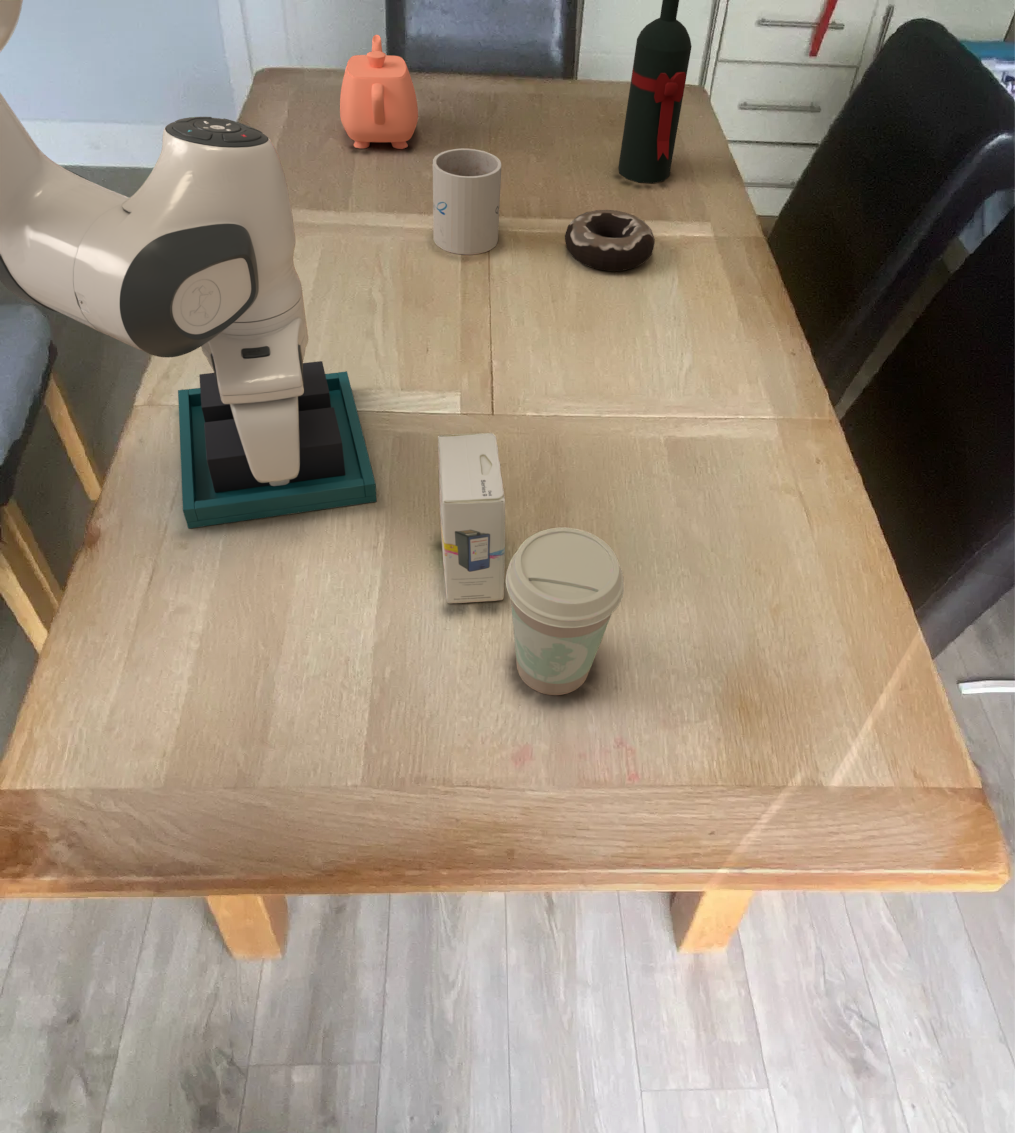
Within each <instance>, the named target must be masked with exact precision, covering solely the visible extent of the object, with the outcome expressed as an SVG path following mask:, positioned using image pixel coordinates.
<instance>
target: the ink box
mask: <svg viewBox="0 0 1015 1133" xmlns="http://www.w3.org/2000/svg"><path fill="white" fill-rule="evenodd" d="M497 441H498V439H497V436H496V435H495V434H494V433H493V432H483V433H482V432H477V433H476V432H475V433H453V434H439V435H437V445H438V448H437V451H438V452H437V453H438V454H437V455H438V457H437V459H438V462H437V463H438V495H439V496H438V497H439V499H438V500H439V519H440V520H439V522H440V534H441V550H442V551H441V552H442V564H443V574H444V589H445V598H446V600H445V602H446V603H447V604H462V603H463V604H464V603H479V602H481V603H482V602H496V601H503V600H504V597H505V596H504V595H505V561H506V560H505V559H506V558H505V557H506V554H505V553H506V499H505V490H504V484H503V483H504V482H503V477H502V471H501V461H500V457H499V446H498V442H497Z"/></svg>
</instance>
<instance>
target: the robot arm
mask: <svg viewBox="0 0 1015 1133" xmlns="http://www.w3.org/2000/svg"><path fill="white" fill-rule="evenodd" d="M23 2H24V0H0V53H2V51H3V50H4V49H5V47H6V46H7V45H8V43H10V40H11V38H12V36H13V35H14V33H15V30H16V29H17V25H18V23H19V21H20V20H19V19H20V16H21V13H22V8H23ZM161 141H162V142H161V150H160V153H159V156H158V158H157V160H156V162H155V164H154V166H153V169H152V171H151V172H150V173H149V175H148V177H147V178H146V179H145V181H144V182H143V183H142V185H141V186H139V188H138V189H137V191H136V192H135V193H134V194H132V195H131V196H130V197H129V196H126V195H124V194H122V193H119V192H117V191H114V190H112V189H109V188H106V187H104V186H102V185H100V184H98V183H95V182H93V181H91V180H89V179H87V178H86V177H84V176H82V175H79V174H77V173H76V172H74V171H71V170H70V169H67V168H65V167H64V166H61V165H60V164H58V163H57V162H55V161H54V160H52V159H51V158H50V157H48V156H47V155H46V154H45V153H44V152H43V151H42V150H41V149H40V148H39V147H38V145H37V144H36V142H35V141H34V139H33V138H32V136H31V135H30V134H29V132H28V130H27V129H26V128H25V126H24V125H23V123H22V122H21V120H20V119H19V117H18V116H17V115H16V113H15V111H14V110H13V108H12V107H11V106H10V104H9V103H8V101H7V100H6V98H5V97H4V96H3V94H2V92H0V283H1V284H2V285H3V286H4V287H5V288H7V290H8V291H10V293H12V294H13V295H14V296H15V297H18V298H20V299H22V300H23V301H25V302H28V303H30V304H33V305H36V306H38V307H40V308H44V309H47V310H48V311H51V312H55V313H59V314H62V315H64V316H65V317H67V318H70V319H72V320H73V321H76V322H78V323H80V324H83V325H85V327H88V328H91V329H93V330H95V331H97V332H99V333H100V334H103V335H106V336H108V337H111V338H112V339H115V340H117V341H119V342H121V343H123V344H126V345H128V346H129V347H132V348H134V349H136V350H139V351H141V352H144V353H147V354H149V355H151V356H153V357H157V358H176V357H181V356H185V355H187V354H189V353H191V352H193V351H196V350H197V349H199V348H200V349H201V352H202V354H203V355H204V357H205V358H206V359H207V361H208V364H209V365H210V367H211V369H212V371H213V373H214V374H215V377H216V382H217V386H218V391H219V394H220V397H221V401H222V402H223V403H224V404H230V407H231V410H232V414H233V417H234V421H235V424H236V427H237V430H238V434H239V437H240V440H241V443H242V446H243V449H244V452H245V455H246V458H247V461H248V464H249V467H250V469H251V472H252V474H253V476H254V478H255V479H256V480H257V481H258V482H260V483H268V482H269V484H270V485H271V486H280V485H286V484H288V483H289V480H290V479H294V478H296V477H297V476H298V473H299V468H300V441H299V411H298V396H301V395H303V393H304V388H303V384H304V381H303V363H304V360H305V355H306V348H307V347H308V343H309V332H308V331H309V330H308V324H307V316H306V309H305V300H304V293H303V285H302V282H301V278H300V276H299V274H298V272H297V270H296V267H295V262H294V256H295V255H294V254H295V249H296V232H295V230H296V229H295V222H294V215H293V209H292V202H291V196H290V191H289V186H288V183H287V178H286V174H285V171H284V166H283V164H282V161H281V158H280V155H279V153H278V151H277V149H276V147H275V145H274V143H273V141H272V140H271V138H270V137H269V136H267V135H266V134H264V132H262V131H261V130H259V129H257V128H255V127H253V126H250V125H247V124H244V123H241V122H239V121H235V120H232V119H229V118H220V117H212V116H191V117H183V118H179V119H177V120H174V121H173V122H170V123H169V124H166V125H165V127H164V128H163V131H162V140H161Z"/></svg>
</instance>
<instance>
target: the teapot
mask: <svg viewBox="0 0 1015 1133" xmlns="http://www.w3.org/2000/svg"><path fill="white" fill-rule="evenodd" d="M382 46H383V44H382V37H381V36H380V35H379V34H374V35H373V36H372V38H371V51H369V52H367V53H366V54H355V55H352V56H351V57H350V58H349V59H348V61H347V63H346V67H345V70H344V74H343V77H342V82H341V88H340V97H339V116H340V121H341V124H342V126H343V129H344V130H345V132H346V135H347V136H348V137H349V139H350V140H352V141H354V142H353V147H354V148H356V149H366V148H367V149H368V148H369V147H370V143H391V147H393V148H394V149H400V150H403V149H405V148H408V146H409V145H408V143H407V141H409V140H411V139H412V137H413V135H414V133H415V130H416V127H417V125H418V122H419V107H418V99H417V95H416V90H415V86H414V83H413V80H412V77H411V74H410V71H409V68H408V65H407V63H406V61H405V60H404V59H403V57H402V56H399V55H389V54H388V55H387V54H386V52H384V51H383V47H382Z"/></svg>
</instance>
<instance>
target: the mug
mask: <svg viewBox="0 0 1015 1133" xmlns="http://www.w3.org/2000/svg"><path fill="white" fill-rule="evenodd" d="M501 182H502V161H501V160H500V158H498V156H496V155H494V154H492V153H490V152H489V151H484V150H480V149H476V148H454V149H447V150H444V151H441V152H439V153H438V154H436V155H435V156H434V157H433V159H432V217H433V218H432V222H433V223H432V235H433V237H432V238H433V239H432V240H433V242H434V244H435V245H436V246H437V247H438V248H440V249H441V250H443V251H445V252H448V253H451V254H456V255H463V256H464V255H466V256H467V255H470V256H471V255H472V256H473V255H479V254H484V253H486V252H487V253H488V252H489V251H491V250H493V249H494V248H495V247H496V246H497V245H498V242H499V228H500V206H501V204H500V203H501V184H502V183H501Z"/></svg>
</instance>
